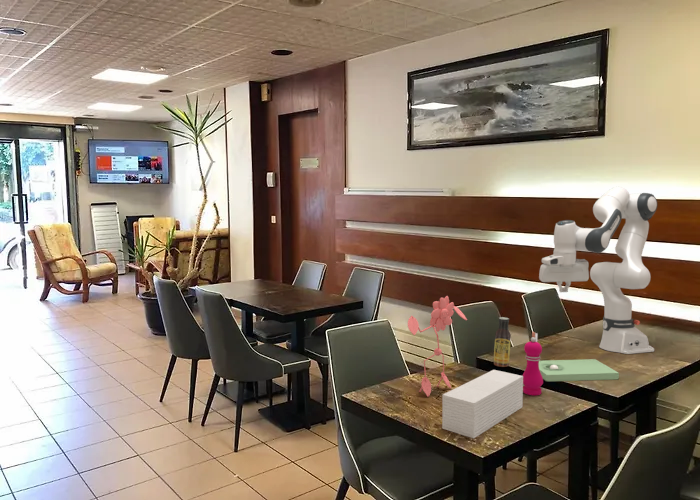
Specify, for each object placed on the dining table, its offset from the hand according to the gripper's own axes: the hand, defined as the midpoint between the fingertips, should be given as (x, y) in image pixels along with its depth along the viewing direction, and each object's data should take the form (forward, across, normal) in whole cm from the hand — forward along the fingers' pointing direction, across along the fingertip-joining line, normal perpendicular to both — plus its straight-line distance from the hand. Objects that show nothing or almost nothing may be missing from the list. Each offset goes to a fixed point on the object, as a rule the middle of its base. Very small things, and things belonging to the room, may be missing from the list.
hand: (563, 292), depth 236 cm
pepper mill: (+29, +28, +38) cm, 55 cm away
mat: (+29, +4, +18) cm, 34 cm away
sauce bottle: (+29, +28, +6) cm, 41 cm away
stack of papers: (+29, +52, +58) cm, 83 cm away
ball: (+27, +11, +18) cm, 35 cm away
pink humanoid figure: (+29, +60, +37) cm, 76 cm away
